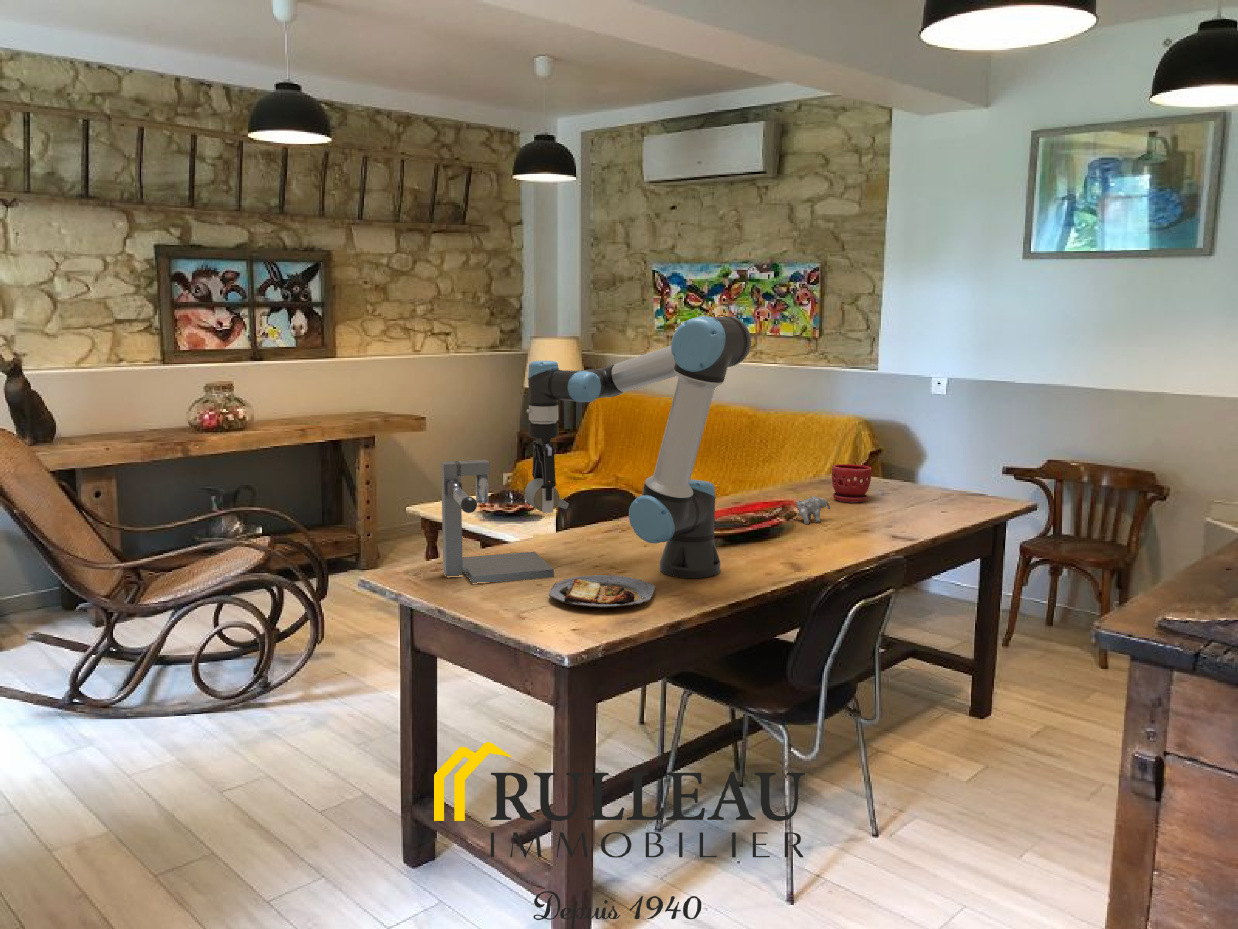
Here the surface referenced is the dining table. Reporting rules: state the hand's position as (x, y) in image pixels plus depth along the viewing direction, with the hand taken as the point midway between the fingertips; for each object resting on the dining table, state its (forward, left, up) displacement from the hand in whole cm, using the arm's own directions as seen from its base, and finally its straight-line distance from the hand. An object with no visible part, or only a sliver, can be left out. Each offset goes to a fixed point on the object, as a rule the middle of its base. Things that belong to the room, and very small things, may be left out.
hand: (543, 508), depth 250 cm
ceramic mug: (0, -1, -1) cm, 1 cm away
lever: (-21, +25, +7) cm, 33 cm away
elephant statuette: (+18, -91, -14) cm, 94 cm away
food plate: (-36, -4, -14) cm, 39 cm away
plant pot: (+41, -120, -14) cm, 127 cm away
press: (-8, +15, -13) cm, 21 cm away
